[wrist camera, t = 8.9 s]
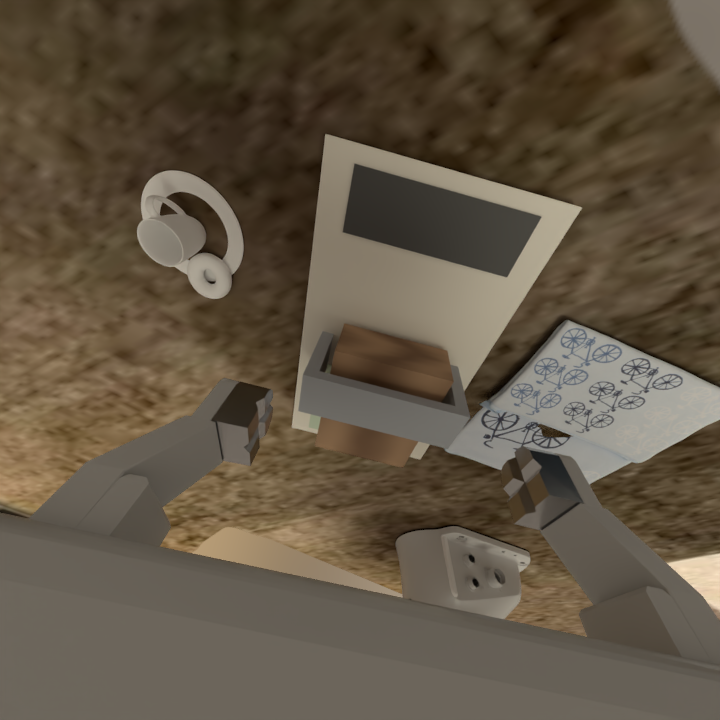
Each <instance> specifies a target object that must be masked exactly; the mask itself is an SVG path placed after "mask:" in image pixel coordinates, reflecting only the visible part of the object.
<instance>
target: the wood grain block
mask: <svg viewBox="0 0 720 720" xmlns="http://www.w3.org/2000/svg"><path fill="white" fill-rule="evenodd" d="M330 374H332V375H336V376H340V377H344V378H348V379H352V380H356V381H359V382H363V383H367V384H371V385H375V386H379V387H383V388H387V389H390V390H394V391H398V392H402V393H406V394H410V395H414V396H418V397H421V398H425V399H429V400H433V401H437V402H441V403H442V401H443V399H444V397H445V396H446V394H447V392H448V391H449V389H450V387H451V386H452V384H453V382H454V380H453V376H452V371H451V366H450V361H449V356H448V351H447V350H443V349H439V348H435V347H432V346H428V345H424V344H420V343H417V342H413V341H409V340H405V339H401V338H398V337H394V336H390V335H386V334H383V333H379V332H375V331H371V330H367V329H364V328H360V327H356V326H352V325H349V324H345V323H344V326H343V329H342V332H341V335H340V337H339V340H338V343H337V346H336V349H335V352H334V357H333V362H332V367H331V371H330ZM417 443H418V441H414V440H410V439H406V438H403V437H399V436H395V435H391V434H387V433H383V432H379V431H375V430H371V429H367V428H363V427H359V426H355V425H351V424H347V423H343V422H339V421H335V420H331V419H327V418H323V417H321V419H320V424H319V428H318V433H317V438H316V443H315V446H317V447H321V448H325V449H329V450H333V451H337V452H341V453H345V454H349V455H353V456H357V457H361V458H365V459H369V460H373V461H377V462H381V463H385V464H389V465H393V466H397V467H401V468H403V467H404V465H405V463H406V462H407V460H408V458H409V457H410V455H411V453H412V451H413V450H414V448H415V446H416V445H417Z"/></svg>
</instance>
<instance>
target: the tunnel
mask: <svg viewBox="0 0 720 720" xmlns="http://www.w3.org/2000/svg"><path fill="white" fill-rule="evenodd" d="M333 335H334V334H331V333H328V332H324V331H323V332H322V334H321V336H320V338H319V340H318V343H317V345H316V347H315V349H314V351H313V354H312V356H311V358H310V360H309V362H308V365H307V367H306V369H305V371H304V373H303V378H302V386H301V393H300V401H299V409H298V411H300V412H304V413H308V414H312V415H316V416H319V417H323V418H327V419H331V420H335V421H339V422H343V423H347V424H351V425H355V426H359V427H363V428H367V429H371V430H375V431H379V432H383V433H387V434H391V435H395V436H399V437H403V438H406V439H410V440H414V441H418V442H422V443H426V444H430V445H434V446H438V447H442V448H446V449H448V448H449V446H450V445H451V444H452V442H453V441H454V440H455V438H456V437H457V435H458V434H459V433H460V431H461V430H462V428H463V427H464V426H465V424H466V423H467V422H468V420H469V419H470V414H469V410H468V406H467V402H466V398H465V393H464V389H463V385H462V381H461V377H460V373H459V368H458V367H457V366H453V365H450V366H451V371H452V376H453V380H454V382H453V384H452V386H451V387H450V389H449V391H448V392H447V394H446V396H445V397H444V399H443V401H442V403H441V402H437V401H433V400H429V399H425V398H421V397H418V396H414V395H410V394H406V393H402V392H398V391H394V390H390V389H387V388H383V387H379V386H375V385H371V384H367V383H363V382H359V381H356V380H352V379H348V378H344V377H340V376H336V375H332V374H329V373H325V372H326V369H327V365H328V360H329V355H330V350H331V345H332V340H333Z"/></svg>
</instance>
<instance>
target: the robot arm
mask: <svg viewBox="0 0 720 720" xmlns="http://www.w3.org/2000/svg"><path fill="white" fill-rule="evenodd" d="M272 398H273V390H271V389H267V388H264V387H260V386H256V385H252V384H248V383H244V382H239V381H235V380H231V379H227V378H224V379H222V380H220V381H219V382H218V383H217V385H216V386H215V387H214V388H213V390H212V391H211V392H210V393H209V395H208V396H207V397H206V398H205V400H204V401H203V402H202V403H201V405H200V406H199V407H198V408H197V410H196V411H195V412H194V413H193V415H192V416H184V417H182V418H180V419H177V420H175V421H173V422H171V423H169V424H167V425H165V426H162V427H160V428H158V429H156V430H154V431H152V432H150V433H148V434H145V435H143V436H141V437H139V438H137V439H135V440H133V441H130V442H128V443H126V444H124V445H122V446H120V447H118V448H116V449H113V450H111V451H109V452H107V453H105V454H103V455H101V456H99V457H96V458H94V459H92V460H90V461H88V462H86V463H85V464H84V465H83V466H82V467H81V468H80V469H79V470H78V471H77V472H76V473H75V474H74V475H73V476H72V477H71V478H70V479H69V480H68V481H67V482H66V483H65V484H63V485H62V486H61V487H60V488H59V489H58V490H57V491H56V492H55V493H54V494H53V495H52V496H51V497H50V498H49V499H48V500H47V501H46V502H45V503H44V504H43V505H42V506H41V507H40V508H39V509H38V510H37V511H36V512H35V513H34V514H33V515H32V516H31V517H30V518H29V519H27V518H22V517H17V516H13V515H8V514H3V513H0V720H720V621H719V619H718V618H717V617H716V615H715V614H714V612H713V611H712V609H711V608H710V606H709V605H708V603H707V602H706V600H705V599H704V597H703V596H702V595H701V594H699V593H698V592H697V591H696V590H695V589H694V588H693V587H692V586H691V585H690V584H689V583H687V582H686V581H685V580H684V579H683V578H682V577H681V576H680V575H679V574H678V573H677V572H675V571H674V570H673V569H672V568H671V567H670V566H669V565H668V564H667V563H666V562H665V561H663V560H662V559H661V558H660V557H659V556H658V555H657V554H656V553H655V552H654V551H653V550H651V549H650V548H649V547H648V546H647V545H646V544H645V543H644V542H643V541H642V540H641V539H639V538H638V537H637V536H636V535H635V534H634V533H633V532H632V531H631V530H630V529H629V528H627V527H626V526H625V525H624V524H623V523H622V522H621V521H620V520H619V519H618V518H616V517H615V516H614V515H613V514H612V513H611V512H610V511H609V510H608V509H604V508H602V506H601V504H600V503H599V501H598V499H597V497H596V496H595V494H594V492H593V490H592V489H591V487H590V485H589V483H588V482H587V480H586V478H585V476H584V475H583V473H582V471H581V469H580V468H579V466H578V464H577V462H576V461H575V460H574V459H573V458H572V457H571V456H566V455H561V454H557V453H552V452H548V451H544V450H539V449H534V448H530V447H525V446H523V447H520V448H518V449H517V450H516V451H515V452H514V453H515V458H512V459H509V460H507V461H506V463H505V464H504V465H503V466H502V471H501V482H502V486H503V489H504V490H505V491H506V492H507V493H508V495H509V496H510V497H509V500H508V506H509V509H510V512H511V515H512V519H513V522H514V524H517V525H521V526H525V527H529V528H533V529H537V530H541V531H540V532H541V534H542V535H543V536H544V538H545V539H546V540H547V542H548V543H549V545H550V546H551V547H552V549H553V550H554V551H555V553H556V554H557V555H558V557H559V558H560V560H561V561H562V562H563V564H564V565H565V566H566V568H567V569H568V570H569V572H570V573H571V575H572V576H573V577H574V579H575V580H576V581H577V583H578V584H579V586H580V587H581V588H582V590H583V591H584V592H585V594H586V595H587V596H588V598H589V599H590V601H591V602H592V603H593V606H590V607H587V608H584V609H582V610H581V611H580V613H579V616H580V619H581V621H582V624H583V627H584V629H585V632H586V635H587V637H585V636H580V635H576V634H571V633H566V632H561V631H557V630H552V629H547V628H542V627H538V626H533V625H528V624H524V623H519V622H514V621H509V620H505V618H506V617H507V616H508V614H509V613H510V612H511V611H512V610H513V609H514V608H515V607H516V606H517V605H518V603H519V601H520V599H521V581H520V574H519V572H521V571H522V570H524V569H525V568H526V567H527V566H528V565H529V563H530V554H529V552H528V551H525V550H523V549H520V548H517V547H514V546H511V545H509V544H506V543H503V542H500V541H498V540H495V539H492V538H489V537H486V536H484V535H481V534H478V533H475V532H472V531H470V530H467V529H464V528H461V527H458V526H450V527H445V528H441V529H435V530H419V531H413V532H409V533H406V534H404V535H402V536H400V537H399V538H398V539H397V540H396V542H395V545H396V549H397V554H398V559H399V565H400V572H401V581H402V593H403V598H401V597H396V596H391V595H386V594H382V593H377V592H372V591H367V590H363V589H357V588H353V587H349V586H344V585H339V584H334V583H330V582H325V581H320V580H315V579H311V578H306V577H301V576H296V575H292V574H287V573H282V572H277V571H273V570H268V569H263V568H259V567H254V566H249V565H244V564H240V563H235V562H230V561H226V560H221V559H216V558H211V557H206V556H202V555H197V554H192V553H188V552H183V551H178V550H174V549H169V548H164V547H159V546H160V545H161V543H162V541H163V540H164V538H165V536H166V535H167V533H168V531H169V530H170V528H171V527H170V522H169V520H168V518H167V516H166V514H165V512H164V510H163V508H162V507H163V506H165V505H166V504H167V503H169V502H170V501H171V500H173V499H174V498H175V497H177V496H178V495H179V494H181V493H182V492H183V491H185V490H186V489H187V488H189V487H190V486H191V485H193V484H194V483H195V482H197V481H198V480H199V479H201V478H202V477H203V476H205V475H206V474H207V473H209V472H210V471H211V470H213V469H214V468H215V467H217V466H218V465H219V464H221V463H222V460H223V461H228V462H233V463H238V464H243V465H249V466H251V464H252V462H253V460H254V458H255V456H256V454H257V452H258V449H259V447H260V445H259V439H260V438H262V437H264V436H265V435H266V433H267V431H268V428H269V425H270V422H271V419H272V413H273V407H272V406H271V405H270V402H271V400H272Z"/></svg>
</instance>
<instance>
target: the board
mask: <svg viewBox="0 0 720 720" xmlns="http://www.w3.org/2000/svg"><path fill="white" fill-rule="evenodd" d="M581 209H582V207H579V206H576V205H573V204H570V203H566V202H563V201H559V200H556V199H552V198H549V197H545V196H542V195H538V194H535V193H531V192H528V191H524V190H521V189H517V188H514V187H510V186H507V185H503V184H500V183H496V182H493V181H489V180H486V179H482V178H479V177H475V176H472V175H468V174H465V173H461V172H458V171H454V170H451V169H447V168H444V167H440V166H437V165H433V164H430V163H426V162H423V161H420V160H416V159H413V158H409V157H406V156H402V155H399V154H395V153H392V152H388V151H385V150H381V149H378V148H374V147H371V146H367V145H364V144H360V143H357V142H353V141H350V140H346V139H343V138H339V137H336V136H332V135H329V134H325V142H324V150H323V159H322V168H321V177H320V185H319V194H318V203H317V211H316V220H315V229H314V238H313V246H312V255H311V264H310V272H309V281H308V290H307V299H306V307H305V316H304V325H303V334H302V342H301V351H300V360H299V368H298V377H297V386H296V395H295V403H294V412H293V421H292V428H296V429H300V430H304V431H308V432H312V433H316V434H317V433H318V428H319V424H320V419H321V417H319V416H316V415H312V414H308V413H304V412H300V411H298V409H299V401H300V393H301V386H302V378H303V373H304V371H305V369H306V367H307V365H308V362H309V360H310V358H311V356H312V354H313V351H314V349H315V347H316V345H317V343H318V340H319V338H320V336H321V334H322V332H323V331H324V332H328V333H331V334H334V335H333V340H332V345H331V350H330V355H329V360H328V365H327V369H326V372H325V373H329V374H330V371H331V367H332V362H333V357H334V352H335V349H336V346H337V343H338V340H339V337H340V335H341V332H342V329H343V326H344V323H345V324H349V325H352V326H356V327H360V328H364V329H367V330H371V331H375V332H379V333H383V334H386V335H390V336H394V337H398V338H401V339H405V340H409V341H413V342H417V343H420V344H424V345H428V346H432V347H435V348H439V349H443V350H447V351H448V356H449V361H450V365H453V366H457V367H458V368H459V373H460V377H461V381H462V385H463V389H464V391H465V389H466V388H467V386H468V385H469V383H470V381H471V380H472V378H473V377H474V375H475V374H476V372H477V371H478V369H479V367H480V366H481V364H482V363H483V361H484V360H485V358H486V357H487V355H488V353H489V352H490V350H491V349H492V347H493V346H494V344H495V343H496V341H497V339H498V338H499V336H500V335H501V333H502V332H503V330H504V329H505V327H506V325H507V324H508V322H509V321H510V319H511V318H512V316H513V315H514V313H515V311H516V310H517V308H518V307H519V305H520V304H521V302H522V301H523V299H524V297H525V296H526V294H527V293H528V291H529V290H530V288H531V287H532V285H533V283H534V282H535V280H536V279H537V277H538V276H539V274H540V273H541V271H542V269H543V268H544V266H545V265H546V263H547V262H548V260H549V259H550V257H551V255H552V254H553V252H554V251H555V249H556V248H557V246H558V245H559V243H560V241H561V240H562V238H563V237H564V235H565V234H566V232H567V231H568V229H569V227H570V226H571V224H572V223H573V221H574V220H575V218H576V217H577V215H578V213H579V212H580V210H581ZM429 445H430V444H426V443H422V442H418V443H417V445H416V446H415V448H414V450H413V451H412V453H411V455H410V457H412V458H416V459H421V458H422V456H423V455H424V453H425V451H426V450H427V448H428V447H429Z"/></svg>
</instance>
